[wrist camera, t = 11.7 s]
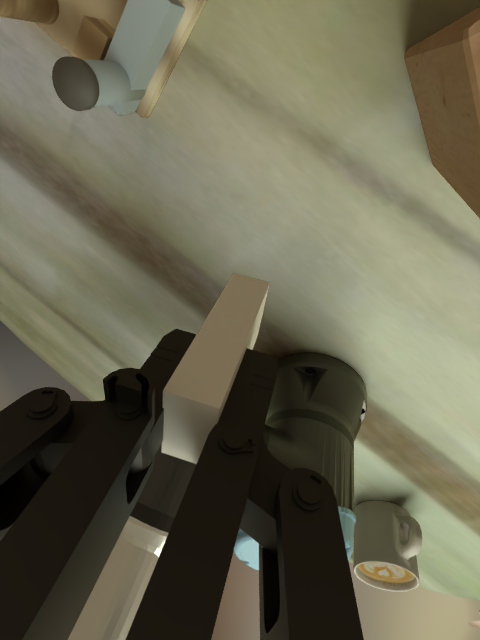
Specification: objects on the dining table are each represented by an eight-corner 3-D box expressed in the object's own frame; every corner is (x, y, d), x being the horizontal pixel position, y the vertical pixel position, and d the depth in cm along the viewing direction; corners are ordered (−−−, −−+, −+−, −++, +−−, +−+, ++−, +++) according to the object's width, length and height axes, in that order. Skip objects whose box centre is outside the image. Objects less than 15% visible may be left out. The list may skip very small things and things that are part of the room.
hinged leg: (107, 88, 34) (45, 91, 27) (155, -23, 29) (91, -54, 22) (136, 114, 35) (82, 124, 28) (187, 10, 29) (136, -9, 22)
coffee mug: (379, 535, 69) (383, 595, 61) (342, 509, 67) (340, 567, 59) (441, 518, 61) (454, 584, 53) (400, 488, 60) (407, 552, 52)
